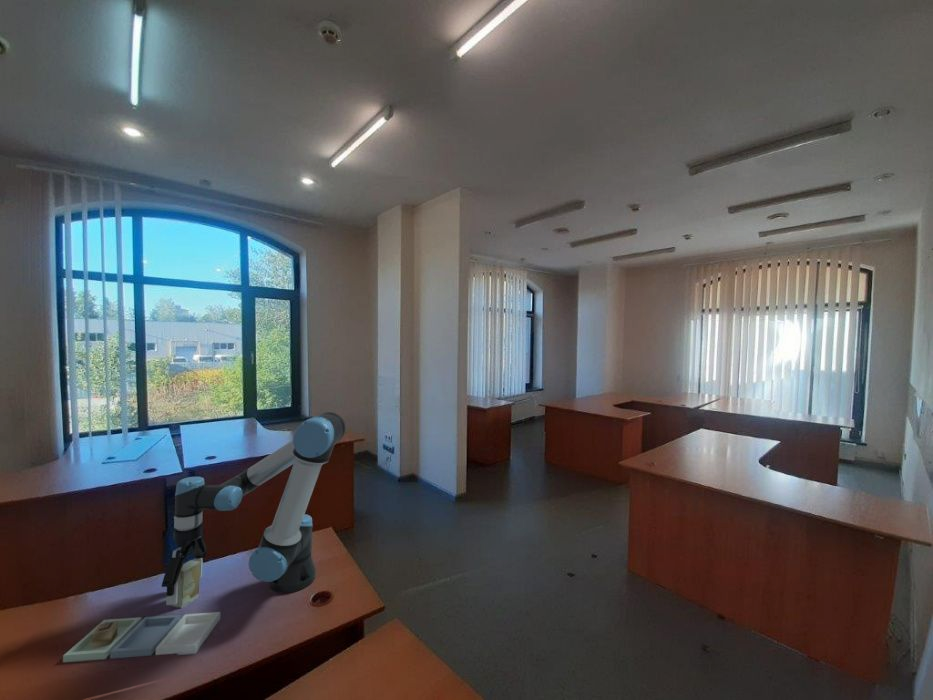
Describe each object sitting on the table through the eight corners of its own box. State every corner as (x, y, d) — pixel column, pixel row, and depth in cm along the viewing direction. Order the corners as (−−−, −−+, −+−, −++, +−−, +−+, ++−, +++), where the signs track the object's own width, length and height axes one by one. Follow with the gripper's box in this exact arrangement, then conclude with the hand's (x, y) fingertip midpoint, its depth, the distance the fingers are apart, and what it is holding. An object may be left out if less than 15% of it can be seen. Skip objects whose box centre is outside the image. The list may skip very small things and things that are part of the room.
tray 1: (141, 625, 111) (141, 617, 111) (105, 661, 99) (106, 652, 99) (103, 627, 110) (104, 619, 110) (62, 664, 97) (63, 655, 97)
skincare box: (181, 610, 118) (183, 572, 118) (170, 608, 119) (172, 570, 119) (200, 597, 125) (201, 561, 125) (189, 595, 125) (190, 559, 126)
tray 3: (220, 619, 115) (220, 612, 115) (195, 653, 102) (195, 645, 102) (184, 622, 113) (185, 614, 113) (155, 657, 100) (155, 648, 100)
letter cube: (117, 634, 107) (117, 620, 107) (110, 644, 103) (110, 630, 103) (99, 638, 105) (99, 624, 105) (91, 648, 102) (92, 634, 102)
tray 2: (181, 622, 113) (181, 614, 113) (151, 657, 100) (151, 648, 100) (144, 625, 112) (145, 617, 112) (109, 660, 99) (110, 651, 99)
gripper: (197, 509, 134) (194, 568, 134) (148, 545, 109) (145, 617, 109) (220, 509, 135) (217, 567, 135) (176, 545, 110) (173, 616, 110)
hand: (185, 590), depth 122 cm, fingers open, 13 cm apart
